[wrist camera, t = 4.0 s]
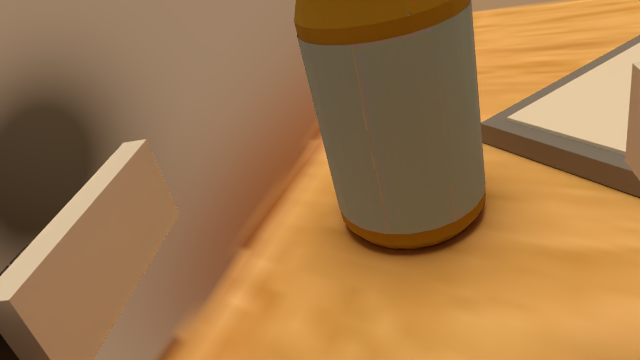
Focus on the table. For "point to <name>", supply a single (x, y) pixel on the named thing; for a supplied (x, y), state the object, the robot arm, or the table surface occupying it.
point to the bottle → (397, 114)
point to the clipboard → (576, 122)
